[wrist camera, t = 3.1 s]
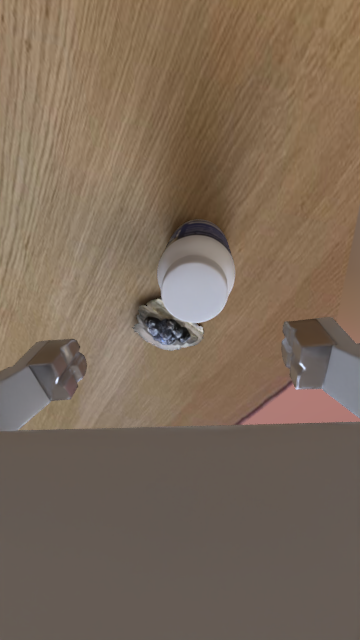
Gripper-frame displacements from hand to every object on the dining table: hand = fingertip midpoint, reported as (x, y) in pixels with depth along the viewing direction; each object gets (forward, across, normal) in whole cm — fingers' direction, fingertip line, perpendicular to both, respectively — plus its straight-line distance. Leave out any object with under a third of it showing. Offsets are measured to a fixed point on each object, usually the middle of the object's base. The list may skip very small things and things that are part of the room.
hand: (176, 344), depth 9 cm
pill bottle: (+15, -1, 0) cm, 15 cm away
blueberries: (+15, +3, +8) cm, 18 cm away
